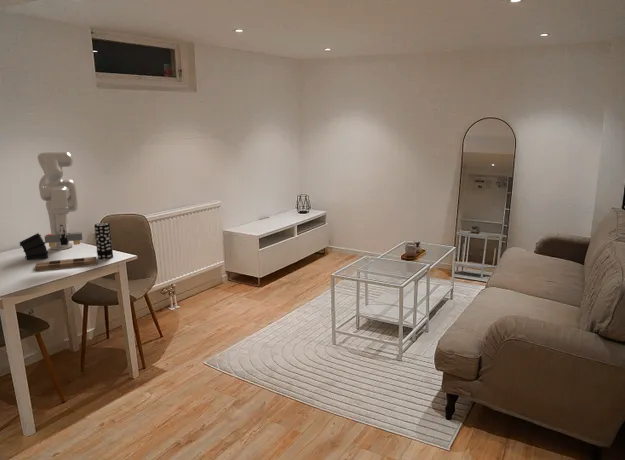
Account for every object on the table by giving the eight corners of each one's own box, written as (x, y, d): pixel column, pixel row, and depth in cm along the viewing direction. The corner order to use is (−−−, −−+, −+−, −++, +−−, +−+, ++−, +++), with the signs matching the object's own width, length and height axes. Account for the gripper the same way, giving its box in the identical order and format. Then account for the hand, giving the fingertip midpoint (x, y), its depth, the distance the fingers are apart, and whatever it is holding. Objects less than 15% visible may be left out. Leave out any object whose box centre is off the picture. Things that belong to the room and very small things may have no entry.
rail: (37, 266, 265) (36, 262, 264) (96, 260, 276) (96, 256, 276) (35, 270, 258) (34, 266, 257) (96, 264, 269) (96, 260, 268)
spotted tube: (96, 259, 278) (92, 226, 273) (99, 255, 286) (96, 223, 281) (111, 259, 279) (108, 225, 275) (114, 255, 287) (111, 222, 283)
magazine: (52, 256, 279) (37, 234, 274) (31, 266, 278) (15, 244, 273) (54, 254, 283) (39, 232, 278) (33, 264, 281) (17, 243, 276)
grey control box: (46, 245, 262) (45, 233, 261) (83, 242, 269) (81, 231, 268) (45, 247, 258) (44, 235, 257) (82, 244, 265) (81, 232, 264)
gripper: (54, 209, 266) (58, 241, 270) (51, 214, 251) (55, 248, 255) (69, 208, 269) (73, 239, 273) (67, 213, 253) (71, 246, 257)
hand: (64, 243), depth 264 cm, fingers closed on grey control box, 4 cm apart
